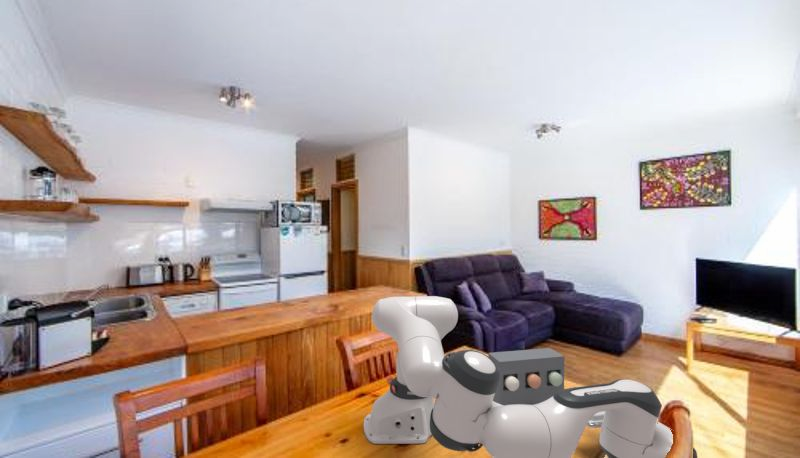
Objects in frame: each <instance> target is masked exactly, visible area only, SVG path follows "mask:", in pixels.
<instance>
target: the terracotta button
mask: <svg viewBox="0 0 800 458" xmlns="http://www.w3.org/2000/svg"><path fill="white" fill-rule="evenodd" d="M526 381H527V384H528V385H529V386H531V387H532V388H534V389H537V388H539V387H540V385H541V378H540V377H539V376H537V375H536V374H534V373H532V374H529V375H528V377H527V379H526Z"/></svg>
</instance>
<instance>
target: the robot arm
mask: <svg viewBox="0 0 800 458" xmlns="http://www.w3.org/2000/svg"><path fill="white" fill-rule="evenodd" d="M458 311H459V310H458V308H457V305H456V303H454V301H453V300H452V299H451V298H447V297H443V296H437V295H429V296H428V295H426V296H425V295H420V296H417V295H415V296H414V295H413V296H390V297H385V298H381V299H378V300H377V301H376V302H375V304H374V306H373V307H372V312H371V320H372V324H373V327H375V328H376V330H377V331H378V332H380V333H383V334H385V335H387V336H389V337H390V338H392V339H393V340H394V341H395V342H396V343H397V347H398V351H397V354H396V376H394V378H393V376H392V375H388V376H387V377H386V378H385V379H386V382H387V384H388V385H389V390H387V391H386V392H385V393H384V394H382V395H381V396H380V397H378V398H377V399H376V400H375V401H374V402H373V405H372V407H371V412H370V413H368V414H367V415H366V416H365V417H364V419H363V426H362V427H363V432H364V435H365V438H366V439H367V440H368V441H369V442H370V443H371V444H373V445H374V444H381V445H386V444H393V445H394V444H396V445H397V444H399V445H400V444H402V445H403V444H407V445H409V444H426V443H427V442H428V440H429V438H430V437H431V436H432V437H433V439H434V440H435V441H437V443H438V444H440V445H441V446H442V447H444V448H445V449H448V450H450V451H456V452H466V451H467V452H468V453H472V452H477V451H478V450H480V449H481V448H482V447H484V449H485V451H486V452H487V454H489V455H490V456H491V457H492V458H571V457H573V455H574V453H575V451H576V450H577V447H578V444H579V442H580V440H581V438H582V435H583V433H584V431H585V429H586V427H589V428H590V429H591V428H592V429H597V428H599V429H600V432H599V439H598V440H599V441H598V444H599V446H600V448H601V450H602V451H603V453H604V455H606V457H608V458H665V457H666V455H667V453H668V452H669V451H670V449H671V446H672V444H673V434H672V432H671V430H672V429H671V428H670V427H668V426H667V425H665V424H663V423H661V422H659V421H658V419H659V417H660V413H661V411H662V408H663V405H662V403H661V401H660V399H659V397H658V396H657V394H656V393H655V392H654V390H653V389H652V388H651V387H650V386H648V385H646V384H644V383H641V382H639V381H637V380H633V379H627V378H625V379H624V378H620V379H616V380H613V381H611V382H608V383H601V384H600V383H599V384H592V385H591V384H590V385H583V386H576V387H569V388H564V389H563V390H560V391H558V392H557V393H556V394H554V396H552V397H551V398H549V399H547V400H546V401H543V402H541V403H538V404H534V405H526V404H513V405H501V404H498V403H496V402H494V401H493V398H494V395H495V392H496V391H497V390H498V386H499V381H500V371H499V369H498V367H497V366H496V364H495V363H494V361H493V360H492V359H490V358H489V357H488V355H486V354H484V353H483V352H481V351H477V350H474V349H466V350H465V349H464V350H459V351H458V350H457V351H454V352H452V351H451V352H449V353H447V354H446V355H445V352H444V348H443V345H442V339H443V338H444V337H445V336H446V335H447V334H448V333H450V332H452V330H454V328H455V327H456V325H457V323H458V320H459V319H458V318H459V312H458ZM657 422H658V424H657ZM670 429H671V430H670ZM693 458H698V452H697V450H696V448H695V447H694V446H693Z"/></svg>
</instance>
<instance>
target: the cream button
mask: <svg viewBox="0 0 800 458" xmlns="http://www.w3.org/2000/svg"><path fill="white" fill-rule="evenodd" d="M504 384H505V386H506V387H507V388H508V389H509V390H510V391H515V390H517V389H518V387H519V381H518V380H517V379H516V378H515V377H514V376H508V377H506V379H505V381H504Z"/></svg>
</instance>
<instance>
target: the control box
mask: <svg viewBox="0 0 800 458" xmlns="http://www.w3.org/2000/svg"><path fill="white" fill-rule="evenodd" d="M487 354H488V355H487V356H488V357H489V358H490V359H492V360H493V361H494V363H495V364H496V366H497V367H498V369H499V371H500V381H499V386H498V390H497V391H496V392H495V395H494V398H493V401H494V402H496V403H498V404H501V405H513V404H526V405H534V404H538V403H541V402H543V401H546V400H547V399H549V398H551V397H552V396H554V394H556V393H557V392H558V391H560V390H563V389H565V355H563V354H561V353H560V352H558V351H556V350H554V349H552V348H551V347H544V348H534V349H533V348H531V349H521V350H519V349H518V350H507V351H495V352H488V353H487ZM553 371H555V372H557V373H559V374H560V375H561V376H562V378H563V381H562V384H561V385H560V386H554V385H552V384H551V383H550V382H549V381H548V375H549V374H550V373H551V372H553ZM532 373H534V374H536V375H537V376H539V377H540V378H541V385H540V387H539V388H537V389H534V388H532V387H531V386H529V385H528V384H527V381H526V379H527V377H528V375H529V374H532ZM508 376H514V377H515V378H516V379H517V380H518V381H519V387H518V389H517V390H515V391H510V390H509V389H508V388H507V387H506V386H505V384H504V381H505V379H506V377H508Z"/></svg>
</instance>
